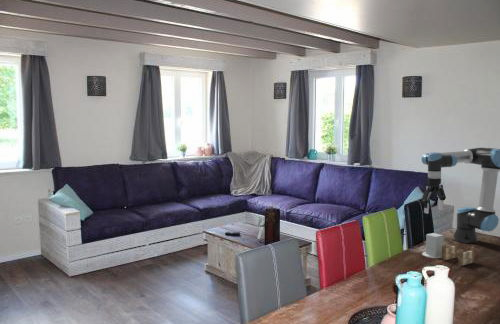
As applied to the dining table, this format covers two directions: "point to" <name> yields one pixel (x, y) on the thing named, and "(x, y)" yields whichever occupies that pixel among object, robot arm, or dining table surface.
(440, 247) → the supplement box
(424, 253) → the disc
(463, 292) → the dining table surface
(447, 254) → the shelf bay
